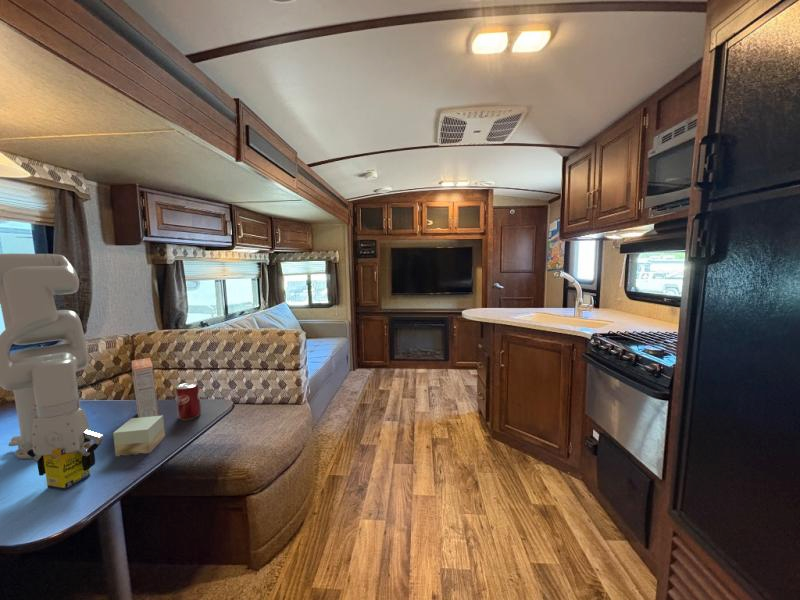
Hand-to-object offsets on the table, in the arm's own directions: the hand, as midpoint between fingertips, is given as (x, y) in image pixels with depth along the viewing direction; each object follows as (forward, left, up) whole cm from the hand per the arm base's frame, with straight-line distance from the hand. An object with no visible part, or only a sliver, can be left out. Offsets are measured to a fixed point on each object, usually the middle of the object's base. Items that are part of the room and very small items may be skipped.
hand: (68, 469), depth 85 cm
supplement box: (0, 0, -4) cm, 4 cm away
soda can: (+15, +34, -4) cm, 37 cm away
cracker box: (0, +36, -4) cm, 36 cm away
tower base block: (+9, +15, -4) cm, 18 cm away
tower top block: (+9, +15, 0) cm, 17 cm away
